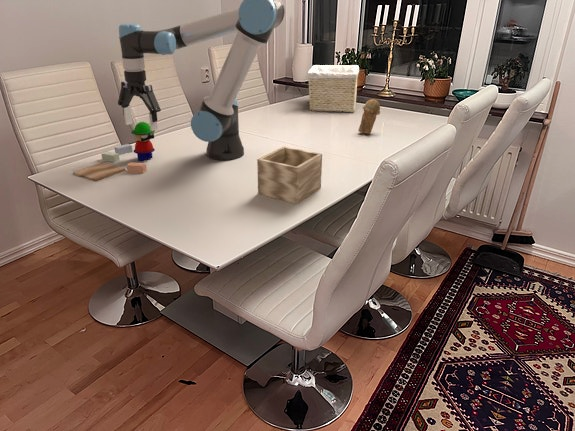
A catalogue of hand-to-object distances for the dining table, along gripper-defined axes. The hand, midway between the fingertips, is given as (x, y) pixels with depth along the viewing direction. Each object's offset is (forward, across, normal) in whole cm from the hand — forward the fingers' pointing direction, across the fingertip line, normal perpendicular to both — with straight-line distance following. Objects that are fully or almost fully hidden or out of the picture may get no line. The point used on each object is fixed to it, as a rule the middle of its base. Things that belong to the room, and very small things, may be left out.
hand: (141, 127), depth 182 cm
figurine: (+12, -60, -82) cm, 102 cm away
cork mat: (+13, +4, +19) cm, 23 cm away
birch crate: (+12, -64, -4) cm, 66 cm away
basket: (+12, -22, -119) cm, 122 cm away
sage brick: (+13, +10, +8) cm, 19 cm away
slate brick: (+13, +14, -1) cm, 19 cm away
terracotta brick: (+13, -8, +11) cm, 19 cm away
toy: (+13, 0, 0) cm, 13 cm away
